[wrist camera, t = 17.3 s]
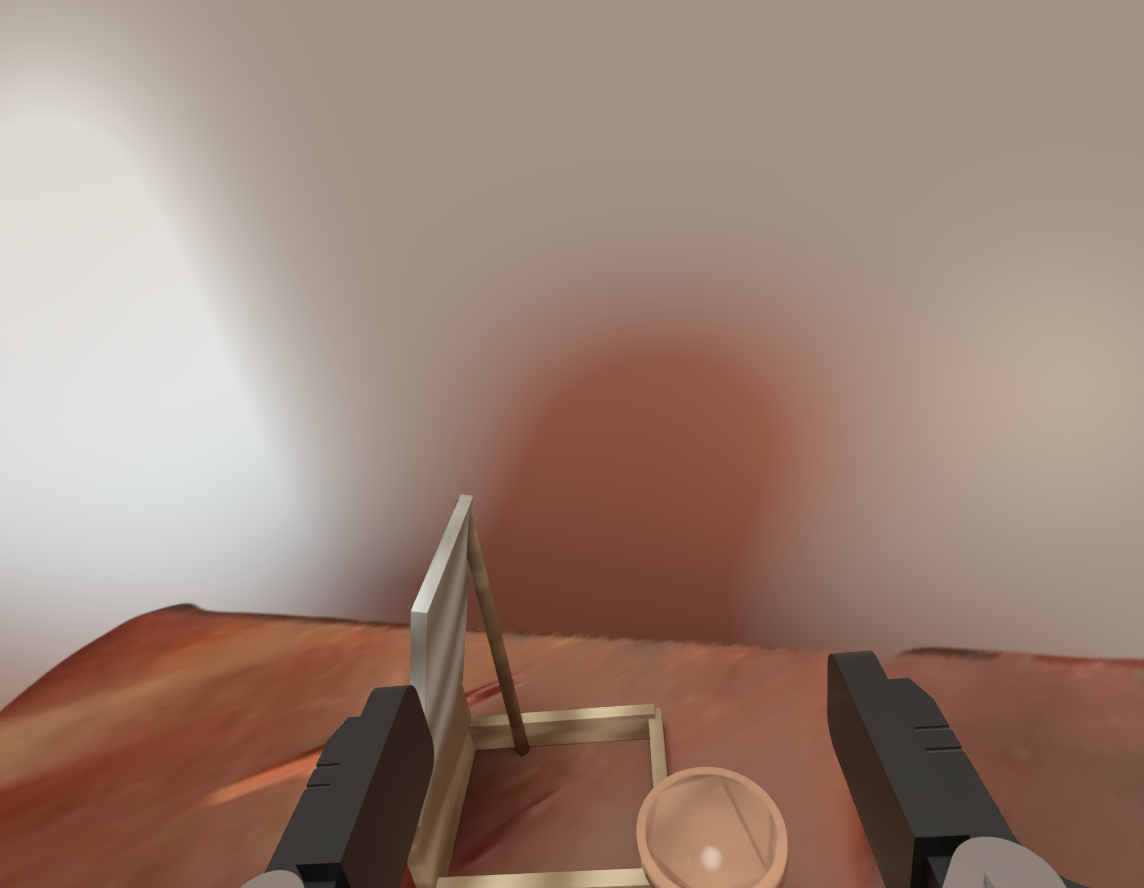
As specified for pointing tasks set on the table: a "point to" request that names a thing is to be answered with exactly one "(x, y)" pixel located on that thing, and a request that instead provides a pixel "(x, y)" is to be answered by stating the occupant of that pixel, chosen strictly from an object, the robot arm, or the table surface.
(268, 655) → the table surface
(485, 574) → the cold frame
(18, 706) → the table surface
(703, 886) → the clay pot
